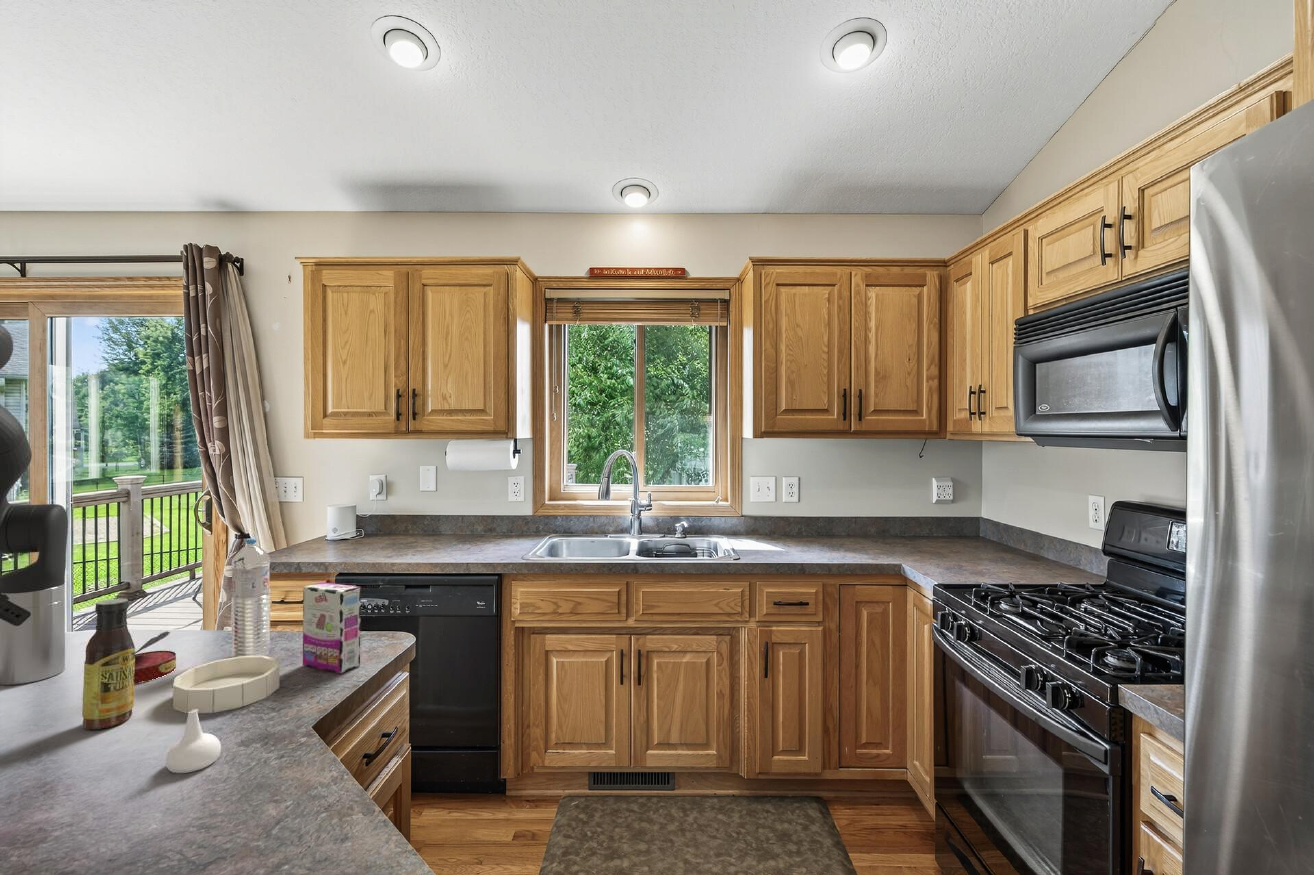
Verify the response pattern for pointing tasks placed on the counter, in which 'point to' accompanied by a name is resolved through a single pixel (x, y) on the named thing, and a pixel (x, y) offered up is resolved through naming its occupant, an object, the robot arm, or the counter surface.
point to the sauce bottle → (109, 668)
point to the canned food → (153, 662)
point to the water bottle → (250, 602)
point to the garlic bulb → (193, 748)
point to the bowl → (226, 684)
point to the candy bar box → (331, 627)
